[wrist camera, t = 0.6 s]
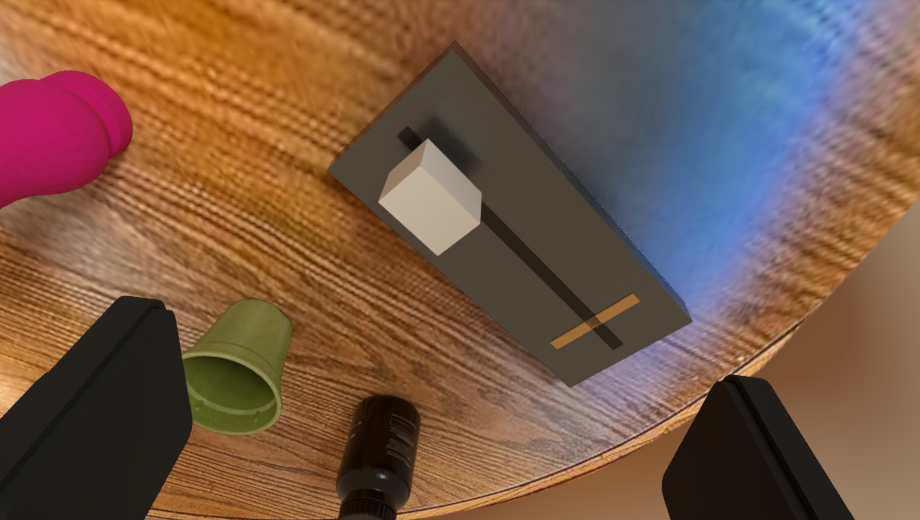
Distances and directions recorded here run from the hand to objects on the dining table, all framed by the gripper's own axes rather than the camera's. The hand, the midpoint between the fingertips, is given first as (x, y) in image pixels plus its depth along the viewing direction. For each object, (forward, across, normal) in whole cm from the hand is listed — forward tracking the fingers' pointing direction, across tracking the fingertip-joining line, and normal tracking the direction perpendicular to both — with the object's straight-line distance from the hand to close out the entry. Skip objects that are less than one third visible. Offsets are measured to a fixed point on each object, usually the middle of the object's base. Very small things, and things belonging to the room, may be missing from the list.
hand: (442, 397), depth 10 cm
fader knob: (+27, +1, +8) cm, 28 cm away
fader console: (+30, -6, +13) cm, 34 cm away
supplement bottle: (+32, +2, +37) cm, 49 cm away
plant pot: (+32, +15, +27) cm, 44 cm away
